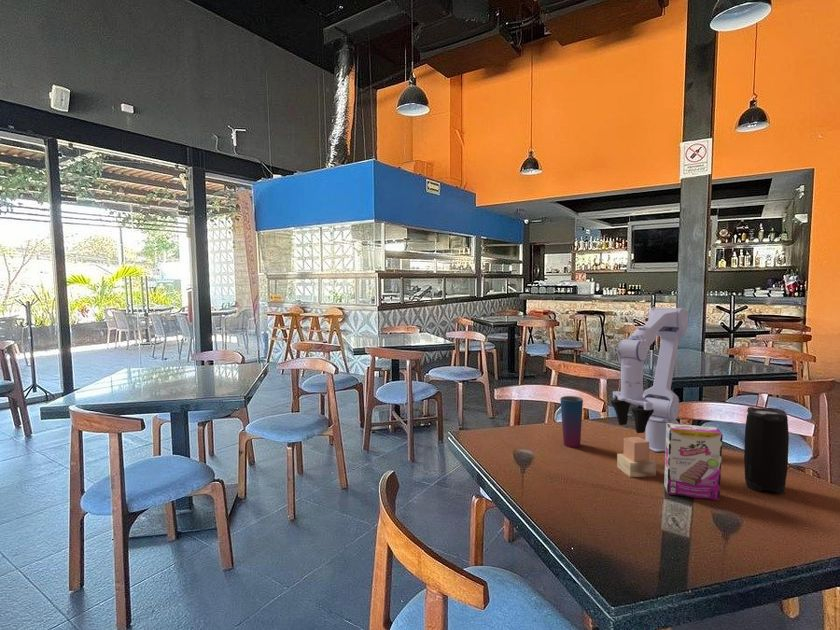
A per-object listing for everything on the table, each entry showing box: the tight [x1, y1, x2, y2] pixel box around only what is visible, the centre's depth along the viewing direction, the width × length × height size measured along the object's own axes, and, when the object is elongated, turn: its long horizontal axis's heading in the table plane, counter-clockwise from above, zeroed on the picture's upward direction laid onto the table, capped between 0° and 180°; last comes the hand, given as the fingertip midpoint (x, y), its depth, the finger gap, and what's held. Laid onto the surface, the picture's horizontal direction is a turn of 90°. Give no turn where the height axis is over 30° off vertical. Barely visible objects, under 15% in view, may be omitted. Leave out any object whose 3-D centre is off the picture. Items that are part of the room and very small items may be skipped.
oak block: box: [616, 453, 657, 478], centre depth 123 cm, size 7×7×4 cm
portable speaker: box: [743, 406, 790, 495], centre depth 111 cm, size 9×9×20 cm
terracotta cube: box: [622, 436, 650, 462], centre depth 122 cm, size 4×4×5 cm
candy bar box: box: [663, 423, 724, 501], centre depth 108 cm, size 11×5×16 cm, turn 71°
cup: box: [559, 395, 584, 448], centre depth 143 cm, size 7×7×15 cm
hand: (631, 428), depth 129 cm, fingers open, 7 cm apart
